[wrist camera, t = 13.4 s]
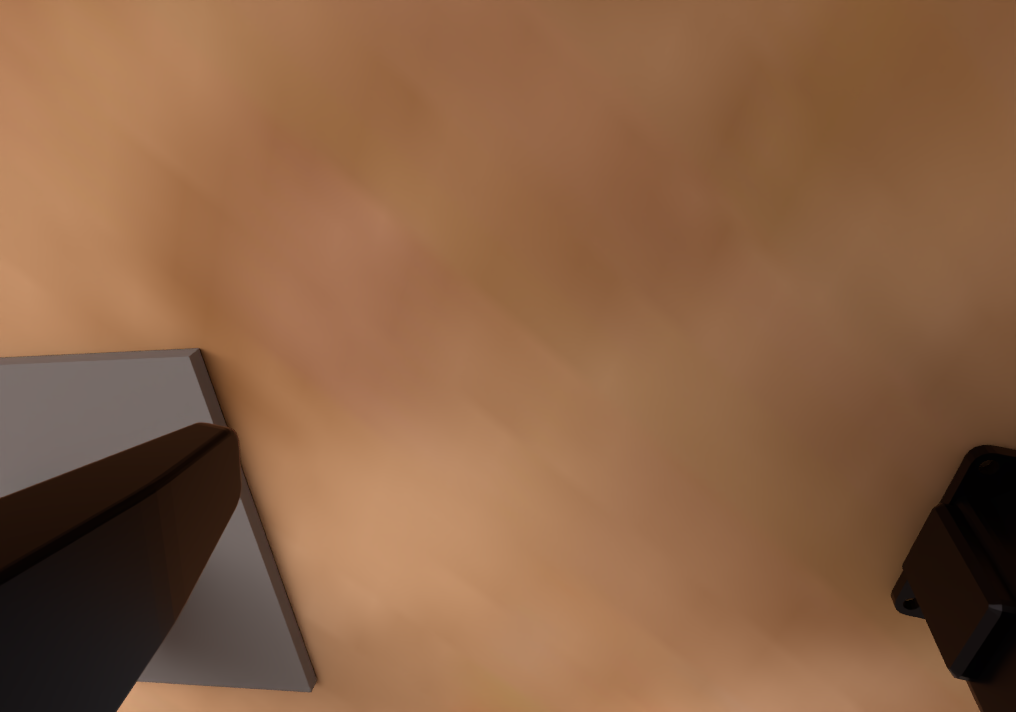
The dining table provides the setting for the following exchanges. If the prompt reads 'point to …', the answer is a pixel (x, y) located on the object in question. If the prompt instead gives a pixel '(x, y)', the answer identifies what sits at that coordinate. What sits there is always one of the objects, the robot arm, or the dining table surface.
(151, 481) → the robot arm
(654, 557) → the dining table surface
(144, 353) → the mat
